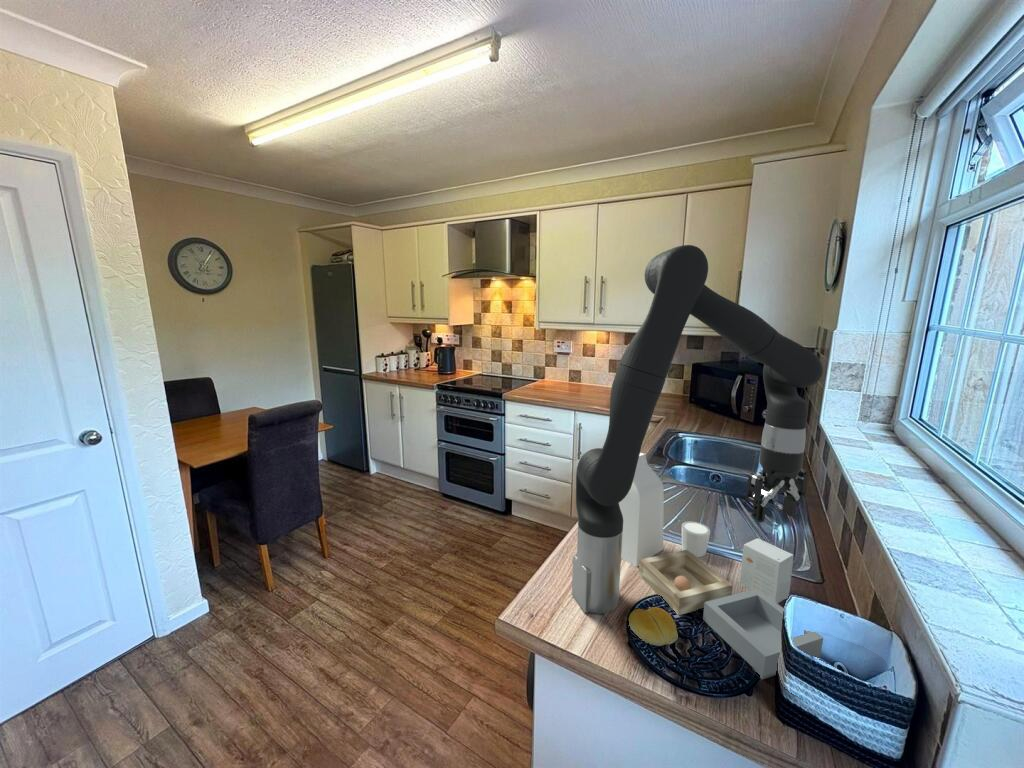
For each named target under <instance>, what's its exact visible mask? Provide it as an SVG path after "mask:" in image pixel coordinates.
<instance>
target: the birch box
mask: <svg viewBox="0 0 1024 768" xmlns="http://www.w3.org/2000/svg"><path fill="white" fill-rule="evenodd" d="M637 572H638V576H639V577H640V578H641V579H642V581H644V582H645V583H646V584H647V586H649V588H651V589H652V591H653V592H655V594H657V596H659V595H660V596H662V597H663V599H664V600H665V601H666V602H667V603H668V604H669V606H670V607H671V608H672V609H673V610H674V611H675V612H676V613H675V612H674V611H673V610H672V609H671V608H670V607H669V606H668V607H669V608H670V609H671V610H672V611H673V612H674V613H675V614H676V615H677V616H681V615H686V614H688V613H692V611H693V612H697V611H699V610H698V609H700V608H703V607H704V603H705V602H707V601H711V600H715V599H719V598H722V597H726V596H730V595H732V593H733V592H732V591H733V584H732V583H731V582H730V581H728V580H727V579H725V578H724V577H723V576H722V575H720V574H719V573H718V572H716V571H715V570H714V569H712V568H711V567H710V566H709V565H707V564H706V563H705V562H704V561H702V560H701V559H700V558H699V557H696V556H694V555H693V554H692V553H691V552H689V551H688V550H679V551H673V552H670V553H665V554H659V555H654V556H652V557H649V558H644V559H640V560H639V566H638V571H637ZM678 576H684V577H686V578H687V579H688V580H689V581H690V584H691V588H690V589H689V590H685V591H680V590H679V589H677V588H676V587H675V585H674V580H675V578H676V577H678ZM660 596H659V597H660ZM663 599H662V600H663ZM664 600H663V601H664ZM665 601H664V602H665ZM696 610H697V611H696Z"/></svg>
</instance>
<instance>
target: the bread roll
mask: <svg viewBox="0 0 1024 768" xmlns="http://www.w3.org/2000/svg"><path fill="white" fill-rule="evenodd" d="M628 621H629V625H628V627H629V626H630V628H631V630H632V631H633V632H634V633H635V634H636V635H637V636H638V637H639V638H640V639H642V640H643V641H645V642H644V643H647V644H648V643H649V645H651V646H656V647H657V646H659V647H662V646H666V645H672V644H674V643H675V642H676V641H678V639H679V635H678V630H677V629H678V628H677V624H676V622H675V620H674V619H673V617H672V615H671V614H670V613H669V612H668V611H666V610H665V609H663V608H661V607H657V606H654V607H653V606H652V607H649V608H648V609H642V608H636V609H633V610H632V611H631V612H630V614H629V617H628ZM639 638H638V639H639ZM640 639H639V640H640ZM642 640H641V641H642ZM643 641H642V642H643Z"/></svg>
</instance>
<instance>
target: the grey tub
mask: <svg viewBox="0 0 1024 768" xmlns="http://www.w3.org/2000/svg"><path fill="white" fill-rule="evenodd" d="M784 609H785V608H784V607H782V605H780V604H779V603H778V604H777V603H776V602H774V601H773V600H772V599H770V598H769V597H768V596H766V595H765V594H763V593H762V592H761V591H759V590H758V589H753V590H750V589H748V590H745V591H743V592H739V593H735V594H731V595H730V596H726V597H722V598H719V599H715V600H711V601H707V602H705V603H704V609H703V613H702V614H703V615H702V621H704V622H705V623H706V624H707V625H708V626H709V627H710V628H711V629H712V631H714V632H715V633H716V634H717V635H719V637H720V638H721V639H722V640H724V641H725V642H726V643H727V644H728V645H729V646H730V647H731V648H732V649H733V650H734V651H735V652H736V653H737V654H738V655H739V656H740V657H741V658H742V659H743V660H745V661H746V663H747V664H749V666H750V667H752V668H751V670H752V671H753V670H754V671H755V672H757V673H758V674H759V675H760V677H759V678H760V679H761V680H766V679H769V678H771V677H774V676H776V671H777V663H778V658H779V655H780V651H781V625H782V618H783V611H784ZM823 641H824V637H823V636H822V635H820V634H819V633H818V632H816V631H815V632H811V631H806V630H804V635H800V636H797V637H794V638H793V642H794V644H795V645H796V647H797V648H798V649H799V650H801V651H803V652H804V653H806V654H808V655H810V656H814V657H817V658H820V659H821V656H822V655H821V654H822V648H823V643H824V642H823ZM754 671H753V672H754ZM755 672H754V673H755Z"/></svg>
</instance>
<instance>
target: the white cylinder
mask: <svg viewBox="0 0 1024 768" xmlns="http://www.w3.org/2000/svg"><path fill="white" fill-rule="evenodd" d="M680 529H681V551H683V550H688V551H689V552H691V553H692V554H693V555H694V556H696V557H697V558H702V557H704V556H706V553H707V549H708V546H709V545H708V544H709V539H710V535H711V530H710V527H708V526H707V525H705V524H703V523H700V522H697V521H685V522H683V523H682V524H681V528H680Z"/></svg>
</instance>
